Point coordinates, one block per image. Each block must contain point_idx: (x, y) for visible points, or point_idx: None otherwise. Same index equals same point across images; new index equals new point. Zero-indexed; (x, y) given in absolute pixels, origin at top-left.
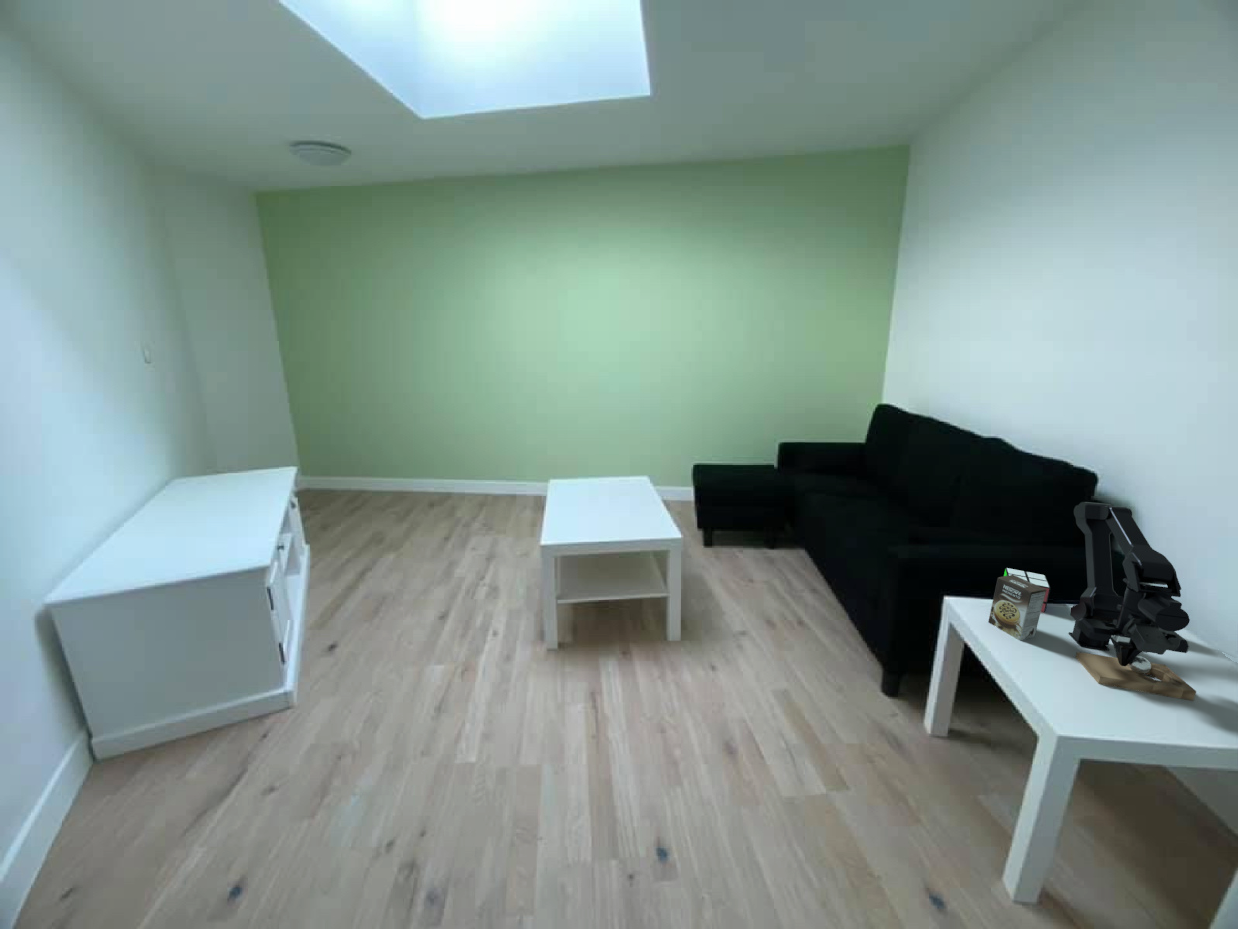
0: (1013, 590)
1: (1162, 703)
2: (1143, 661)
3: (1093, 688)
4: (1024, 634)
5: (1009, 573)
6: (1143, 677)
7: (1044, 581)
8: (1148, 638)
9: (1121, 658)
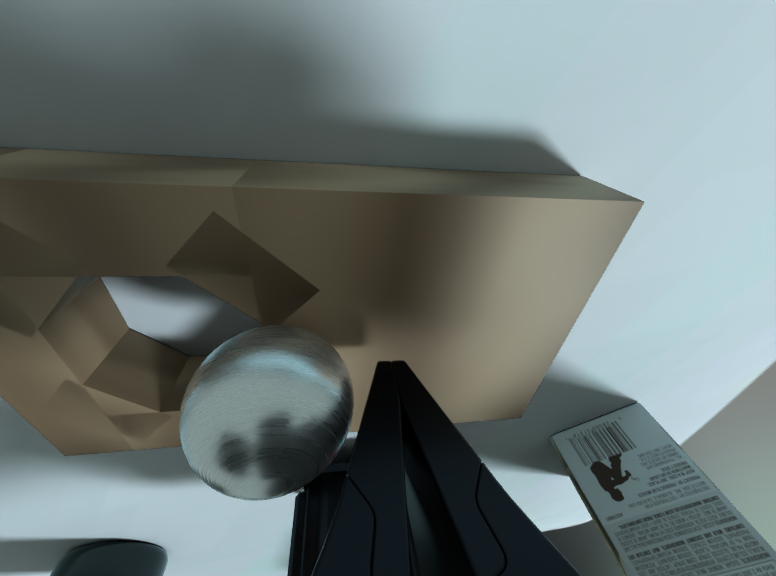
0: None
1: (218, 7)
2: (258, 441)
3: (650, 125)
4: (655, 456)
5: None
6: (277, 283)
7: None
8: None
9: (448, 422)
